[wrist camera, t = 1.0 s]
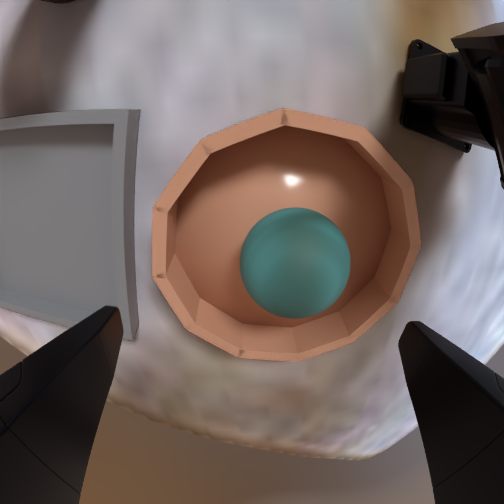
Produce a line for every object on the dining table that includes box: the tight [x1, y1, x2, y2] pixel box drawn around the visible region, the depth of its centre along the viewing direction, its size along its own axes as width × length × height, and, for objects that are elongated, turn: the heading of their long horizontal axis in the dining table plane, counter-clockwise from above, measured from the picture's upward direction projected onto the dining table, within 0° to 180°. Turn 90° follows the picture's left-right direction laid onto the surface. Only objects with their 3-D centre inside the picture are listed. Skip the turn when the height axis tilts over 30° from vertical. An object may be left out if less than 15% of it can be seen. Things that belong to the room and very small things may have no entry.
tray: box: [0, 109, 140, 341], centre depth 17 cm, size 16×16×2 cm
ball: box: [240, 207, 350, 319], centre depth 16 cm, size 6×6×6 cm
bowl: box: [152, 108, 421, 362], centre depth 18 cm, size 16×16×3 cm
